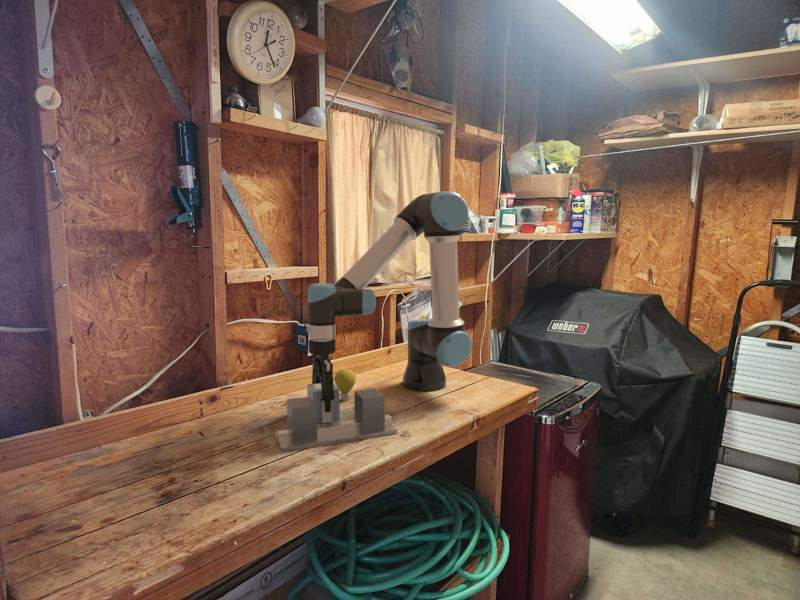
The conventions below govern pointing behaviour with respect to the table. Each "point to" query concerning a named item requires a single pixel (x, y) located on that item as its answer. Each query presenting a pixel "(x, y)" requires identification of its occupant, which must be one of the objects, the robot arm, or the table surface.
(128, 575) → the table surface
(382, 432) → the grey block holder
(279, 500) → the table surface
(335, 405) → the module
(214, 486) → the table surface
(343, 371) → the light bulb
